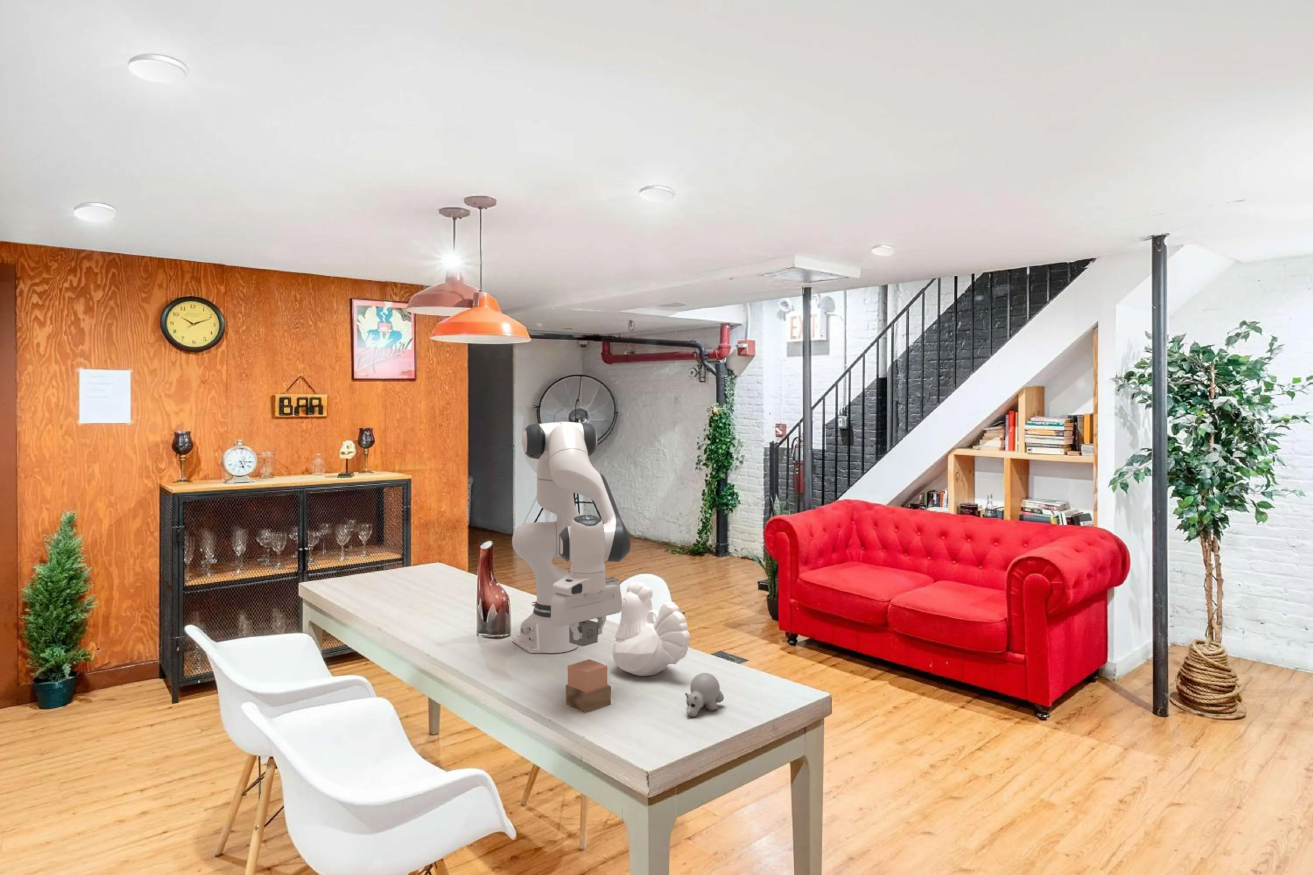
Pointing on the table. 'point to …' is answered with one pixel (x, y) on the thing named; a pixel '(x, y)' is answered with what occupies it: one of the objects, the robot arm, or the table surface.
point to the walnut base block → (588, 698)
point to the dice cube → (585, 633)
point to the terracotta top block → (587, 675)
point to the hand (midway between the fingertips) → (587, 636)
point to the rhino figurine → (703, 694)
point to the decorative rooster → (648, 633)
